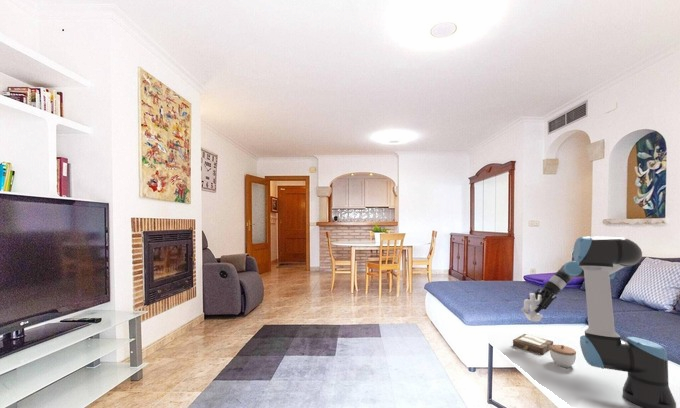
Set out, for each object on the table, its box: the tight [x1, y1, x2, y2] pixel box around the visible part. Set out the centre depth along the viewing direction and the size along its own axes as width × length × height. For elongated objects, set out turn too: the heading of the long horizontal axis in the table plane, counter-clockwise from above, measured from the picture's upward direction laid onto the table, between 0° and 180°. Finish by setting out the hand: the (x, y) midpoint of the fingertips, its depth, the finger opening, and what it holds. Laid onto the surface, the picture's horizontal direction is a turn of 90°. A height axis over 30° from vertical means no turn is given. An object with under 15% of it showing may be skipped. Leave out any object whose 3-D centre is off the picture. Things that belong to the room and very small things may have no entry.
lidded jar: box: [549, 344, 577, 368], centre depth 158 cm, size 11×11×9 cm
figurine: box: [523, 292, 544, 323], centre depth 181 cm, size 7×9×15 cm
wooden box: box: [512, 333, 554, 356], centre depth 179 cm, size 20×15×4 cm
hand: (526, 313), depth 181 cm, fingers closed on figurine, 7 cm apart
